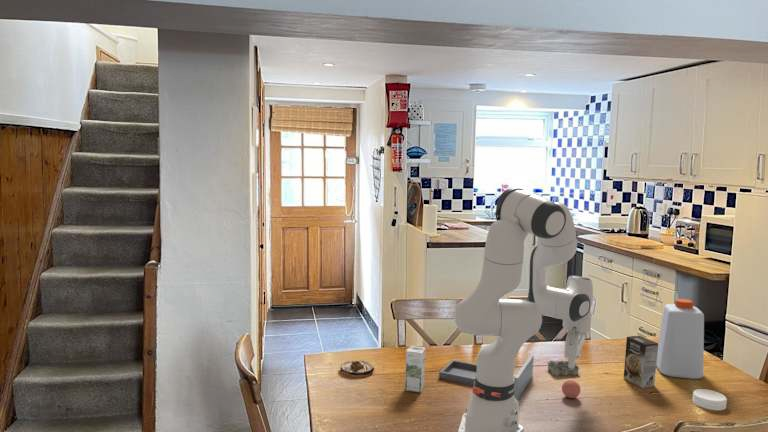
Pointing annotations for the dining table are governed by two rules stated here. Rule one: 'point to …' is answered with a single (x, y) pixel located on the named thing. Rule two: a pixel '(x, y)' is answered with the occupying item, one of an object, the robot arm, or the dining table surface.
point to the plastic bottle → (681, 341)
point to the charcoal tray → (459, 372)
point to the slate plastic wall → (523, 377)
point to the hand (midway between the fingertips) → (573, 362)
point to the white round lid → (709, 399)
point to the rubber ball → (571, 389)
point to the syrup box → (415, 369)
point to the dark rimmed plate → (357, 369)
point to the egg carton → (561, 368)
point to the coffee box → (640, 361)
